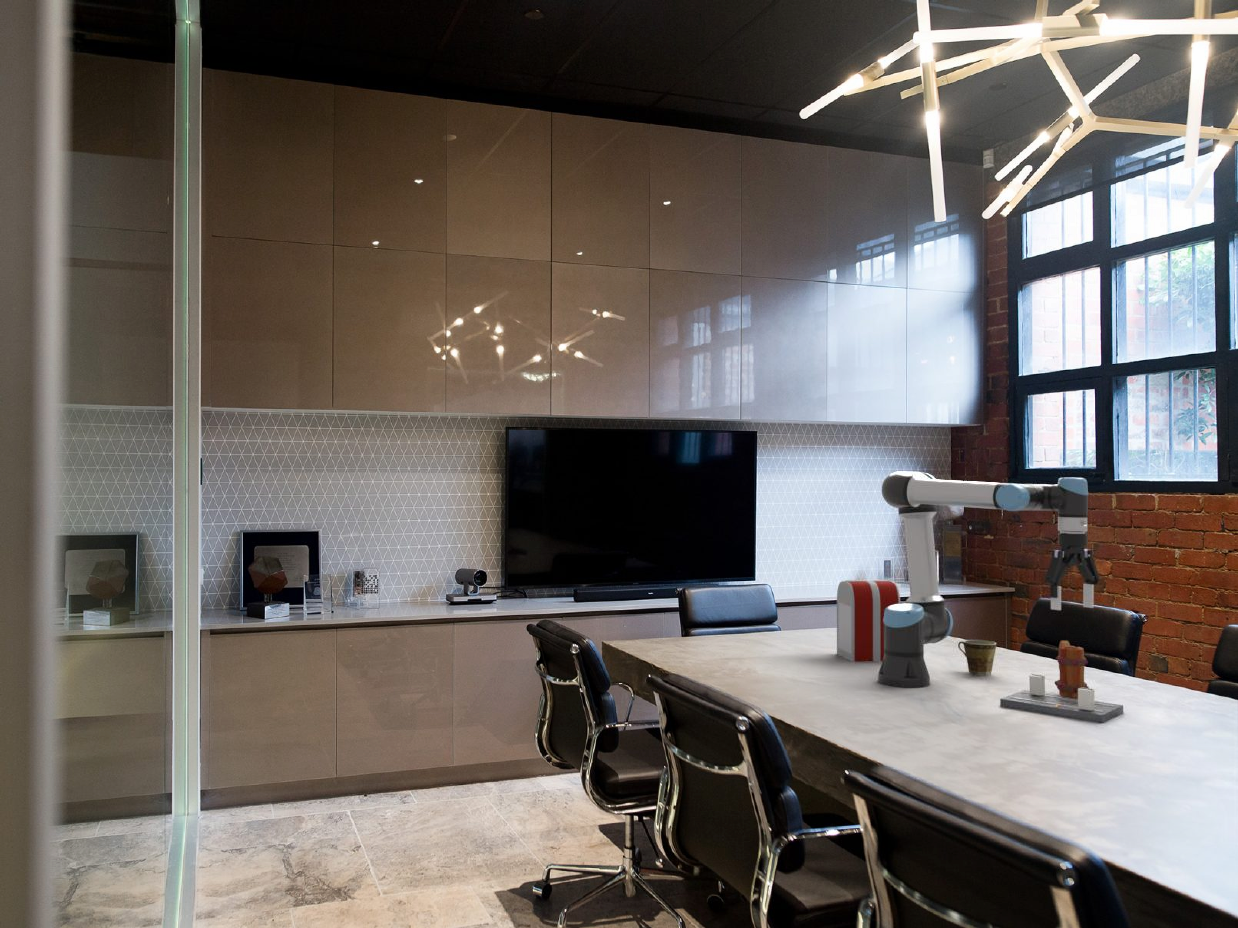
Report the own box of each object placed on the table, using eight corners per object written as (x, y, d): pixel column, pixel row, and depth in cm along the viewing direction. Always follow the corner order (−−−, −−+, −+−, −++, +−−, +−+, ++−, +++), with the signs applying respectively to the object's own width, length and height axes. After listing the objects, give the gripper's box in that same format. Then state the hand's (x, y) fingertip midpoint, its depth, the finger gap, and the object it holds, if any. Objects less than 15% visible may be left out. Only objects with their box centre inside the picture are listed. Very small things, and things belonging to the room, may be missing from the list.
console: (1000, 705, 258) (1000, 697, 258) (1024, 697, 269) (1024, 689, 269) (1102, 722, 240) (1102, 713, 240) (1123, 712, 251) (1123, 704, 251)
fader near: (1078, 708, 246) (1077, 688, 246) (1082, 706, 248) (1082, 686, 248) (1090, 710, 244) (1090, 689, 244) (1094, 708, 246) (1094, 688, 246)
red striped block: (835, 653, 341) (835, 578, 342) (883, 652, 343) (883, 577, 344) (852, 661, 325) (852, 582, 325) (901, 661, 327) (901, 582, 327)
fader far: (1029, 693, 263) (1029, 674, 264) (1033, 692, 266) (1033, 673, 266) (1040, 695, 261) (1040, 676, 262) (1044, 693, 263) (1044, 674, 264)
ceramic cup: (1003, 674, 304) (1002, 642, 304) (984, 677, 298) (983, 645, 298) (967, 667, 314) (967, 637, 315) (948, 670, 309) (948, 640, 309)
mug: (1092, 701, 264) (1091, 647, 265) (1060, 700, 266) (1060, 646, 266) (1077, 690, 279) (1077, 639, 279) (1048, 689, 280) (1047, 638, 281)
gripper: (1054, 533, 257) (1053, 612, 257) (1113, 532, 269) (1113, 607, 268) (1030, 532, 264) (1030, 608, 263) (1090, 531, 275) (1089, 604, 275)
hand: (1072, 608), depth 266 cm, fingers open, 13 cm apart
